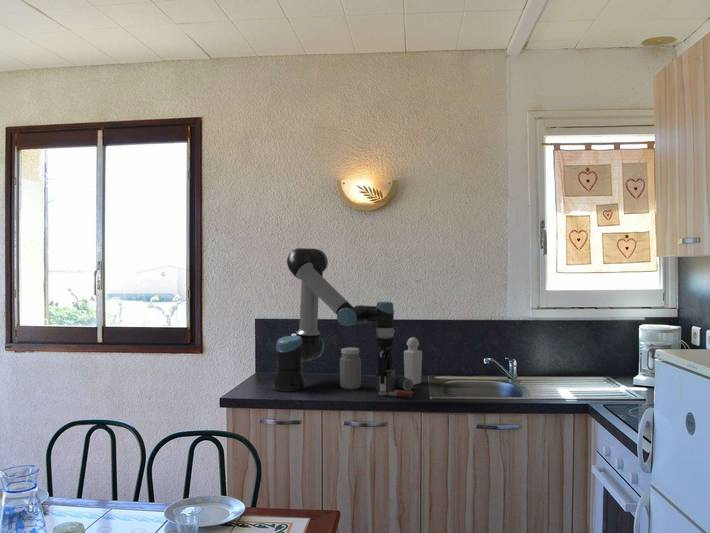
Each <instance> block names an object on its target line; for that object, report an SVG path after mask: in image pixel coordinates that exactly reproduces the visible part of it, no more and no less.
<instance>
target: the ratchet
mask: <svg viewBox="0 0 710 533" xmlns="http://www.w3.org/2000/svg"><path fill="white" fill-rule="evenodd" d="M377 392H378V393H377V395H378V396H381V397H397V398H398V397H399V398H409V399H411V398H412V397H413V396H414V391H413V390H403V389H399V390H398V389H393V390H392V391H391V392H390V391H386V392H385V391H379V390H377Z"/></svg>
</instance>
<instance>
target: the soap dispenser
mask: <svg viewBox="0 0 710 533" xmlns="http://www.w3.org/2000/svg"><path fill="white" fill-rule="evenodd" d="M406 346H407V349H405V350H404V351H403V365H404V366H403V368H404V369H403V370H404V371H403V372H404V378H408V379H411V380H412V382H413V386H414V385H418V384H422V366H423V351H422V350H419V349H418V348H419V346H420V342H419V340H418V339H417V337H414V336H412V337H410V338H408V339H407V342H406Z"/></svg>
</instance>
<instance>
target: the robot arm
mask: <svg viewBox="0 0 710 533" xmlns="http://www.w3.org/2000/svg"><path fill="white" fill-rule="evenodd" d="M328 261H329V260H328V257H327V255H326V253H325V252H324V251H322V250H321V249H319V248H302V247H298V248H295V249H293V250H291V251H290V253H289V254H288V256H287V259H286V264H287V268H288V270H289V271H290V272H291V274H292V275H293V276H294V277H295V278H296V279H297V280H301V285H300V308H299V311H300V312H299V329H298V330H296V332H295V335H287V336H283V337H280V338H278V340H277V341H276V347H275V348H276V350H275V351H276V373H275V376H274V379H273V382H272V389H273V390H275V391H278V392H296V391H297V392H298V391H302V390H305V389H306V388H307V385H306V384H307V383H306V379H305V377H304V372H303V363H305V362H309V361H310V362H311V361H314V360H317V359H318V358H320V357H321V356H322V354H323V353H324V350H325V343H324V340H323V338H322V337H321V333H320V331H319V330H318V321H319V320H318V318H319V315H318V314H319V300H321V301H322V302H323V303H324V304H326V306H327V307H328V308H329V309H330V310H331V311H333V313H334V314H335V315H336V319H337V322H338V324H340V325H341V326H344V327H349V326H353V325H359V324H361V325H362V324H365V323H366V324H367V323H369V324H371V323H372V324H376V346H377V347H380V350H379V352H377V354H378V355H377V356H378V358H377V359H378V360H377V361H378V362H377V363H378V364H377V365H378V366H377V371H378V376H380V391H385V392H386V376H385V374H386V369H390V370H394V369H393V368H394V367H393V365H394V364H393V348H392V347H393V346H395V338H394V335H395V332H396V330H395V329H394V324H395V322H394V321H395V320H394V316H395V315H394V314H395V311H394V303H393V302H391V301H377V302H376V305H363V304H361V305H354V306H353V305H352V304H351V303H350V302H349V301H348V300H347V299H346V298H345V297H344V296H342V294H341V293H340V292H338V291H337V289H335V287H334V286H332V285H331V283H329V282H328V281H327V280H326V278H324V277H323V272H325V270H326V269H327V268H328V264H329V262H328Z"/></svg>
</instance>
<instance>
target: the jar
mask: <svg viewBox="0 0 710 533" xmlns="http://www.w3.org/2000/svg"><path fill="white" fill-rule="evenodd" d="M340 350H341V357H340V358H339V386H340V387H341V388H342V389H344V390H357V389H359V388H360V387H361V385H362V359H361V357H360V348H358V347H354V346H353V347H349V346H348V347H343V348H340Z"/></svg>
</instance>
